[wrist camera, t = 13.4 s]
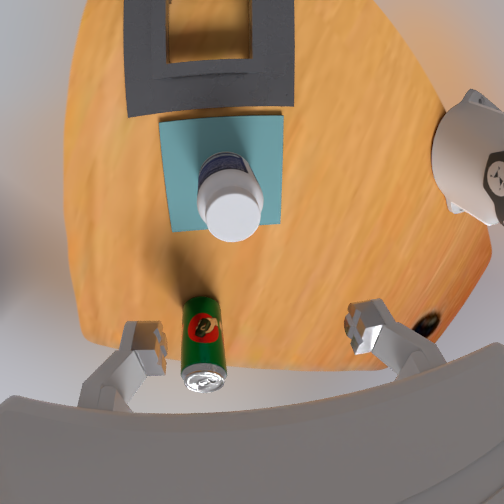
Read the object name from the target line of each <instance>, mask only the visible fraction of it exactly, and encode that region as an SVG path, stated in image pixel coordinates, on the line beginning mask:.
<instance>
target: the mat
mask: <svg viewBox="0 0 504 504" xmlns="http://www.w3.org/2000/svg"><path fill="white" fill-rule="evenodd" d="M159 130H160V141H161V151H162V160H163V169H164V177H165V185H166V193H167V200H168V208H169V214H170V221H171V228H172V232H181V231H192V230H204V229H208V227H207V224H206V223H205V222H204V221H203V220H202V218H201V216H200V214H199V212H198V208H197V192H198V177H199V171H200V168H201V166H202V164H203V163H204V162H205V160H206V159H207V158H209V157H210V156H212V155H213V154H216V153H219V152H233V153H236V154H238V155H240V156H242V157H243V158H244V159H245V160H246V161H247V162H248V164H249V165H250V167H251V169H252V171H253V173H254V175H255V177H256V179H257V181H258V183H259V185H260V187H261V190H262V193H263V199H264V202H263V208H262V211H261V219H260V223H259V225H269V224H280V217H281V191H282V160H283V115H250V116H224V117H208V118H195V119H185V120H175V121H166V122H160V123H159Z"/></svg>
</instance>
